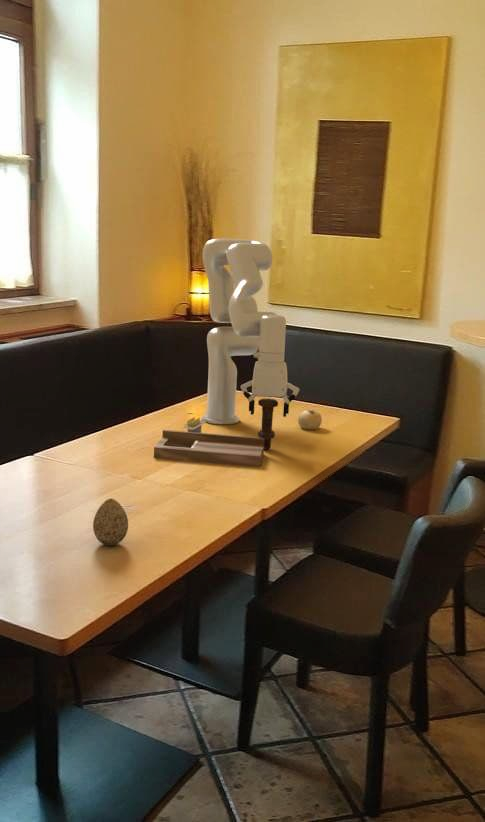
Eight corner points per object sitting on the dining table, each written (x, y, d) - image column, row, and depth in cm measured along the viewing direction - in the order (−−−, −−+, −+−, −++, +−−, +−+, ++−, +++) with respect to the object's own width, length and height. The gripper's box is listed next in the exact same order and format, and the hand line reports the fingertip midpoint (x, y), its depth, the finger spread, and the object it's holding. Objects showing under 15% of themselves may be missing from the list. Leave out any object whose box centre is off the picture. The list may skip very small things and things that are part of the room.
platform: (163, 443, 244) (163, 422, 243) (187, 430, 261) (187, 410, 259) (199, 449, 240) (200, 428, 239) (221, 435, 257) (222, 415, 255)
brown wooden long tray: (162, 446, 240) (163, 429, 239) (263, 454, 237) (264, 438, 236) (153, 457, 229) (154, 440, 227) (259, 466, 226) (260, 449, 224)
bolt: (275, 447, 245) (278, 399, 242) (274, 452, 240) (277, 402, 237) (256, 446, 246) (259, 397, 242) (255, 450, 241) (257, 401, 237)
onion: (292, 427, 270) (293, 406, 268) (308, 424, 275) (310, 403, 274) (309, 432, 264) (311, 411, 263) (326, 429, 270) (327, 408, 268)
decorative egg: (85, 545, 167) (85, 499, 165) (108, 535, 173) (109, 490, 171) (112, 554, 163) (113, 507, 161) (134, 543, 169) (135, 498, 167)
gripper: (240, 357, 233) (237, 415, 237) (300, 361, 232) (297, 419, 235) (243, 354, 241) (241, 410, 244) (301, 357, 239) (298, 414, 243)
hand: (268, 414), depth 240 cm, fingers open, 9 cm apart
